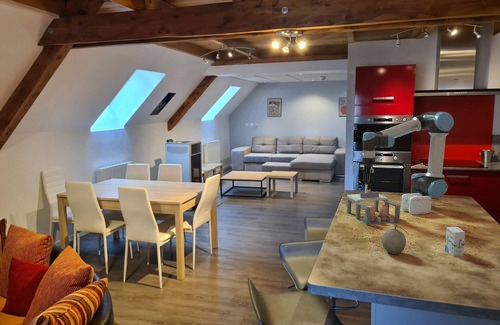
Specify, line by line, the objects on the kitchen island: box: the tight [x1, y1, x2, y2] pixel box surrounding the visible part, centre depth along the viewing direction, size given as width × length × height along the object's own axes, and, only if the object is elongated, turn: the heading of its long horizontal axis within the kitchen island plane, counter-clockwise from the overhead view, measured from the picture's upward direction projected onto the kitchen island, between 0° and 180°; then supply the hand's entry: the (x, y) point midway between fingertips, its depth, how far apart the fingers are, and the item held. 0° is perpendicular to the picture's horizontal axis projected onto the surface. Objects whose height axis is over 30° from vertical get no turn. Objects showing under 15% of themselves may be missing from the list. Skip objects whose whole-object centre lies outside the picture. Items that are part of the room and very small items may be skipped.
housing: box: [346, 196, 401, 226], centre depth 240 cm, size 21×27×11 cm
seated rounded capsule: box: [367, 204, 376, 222], centre depth 233 cm, size 5×5×9 cm
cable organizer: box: [400, 193, 432, 216], centre depth 252 cm, size 15×11×12 cm
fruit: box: [381, 219, 409, 255], centre depth 183 cm, size 10×12×15 cm
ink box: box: [444, 226, 466, 257], centre depth 182 cm, size 9×5×12 cm, turn 178°
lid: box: [346, 191, 389, 202], centre depth 246 cm, size 21×14×4 cm
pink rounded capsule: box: [378, 204, 388, 221], centre depth 234 cm, size 5×5×9 cm
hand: (367, 194), depth 245 cm, fingers closed
